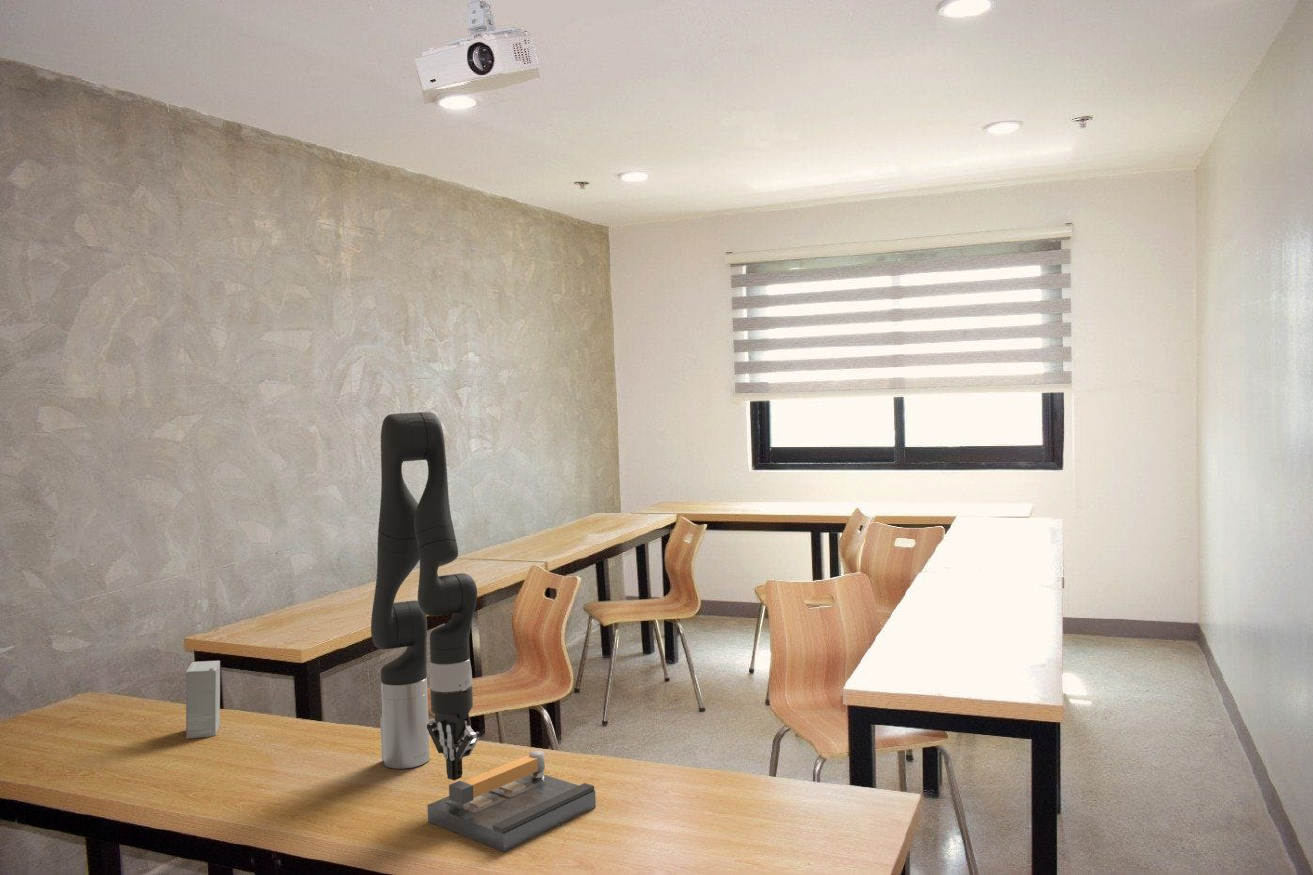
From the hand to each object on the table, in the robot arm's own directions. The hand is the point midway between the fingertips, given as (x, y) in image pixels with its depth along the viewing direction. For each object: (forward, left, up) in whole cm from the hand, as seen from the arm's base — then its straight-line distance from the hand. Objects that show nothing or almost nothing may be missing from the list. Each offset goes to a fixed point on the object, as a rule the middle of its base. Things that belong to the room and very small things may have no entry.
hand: (454, 778), depth 177 cm
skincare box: (-82, -7, -6) cm, 83 cm away
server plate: (+11, +4, -5) cm, 13 cm away
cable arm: (+7, +5, -1) cm, 9 cm away
